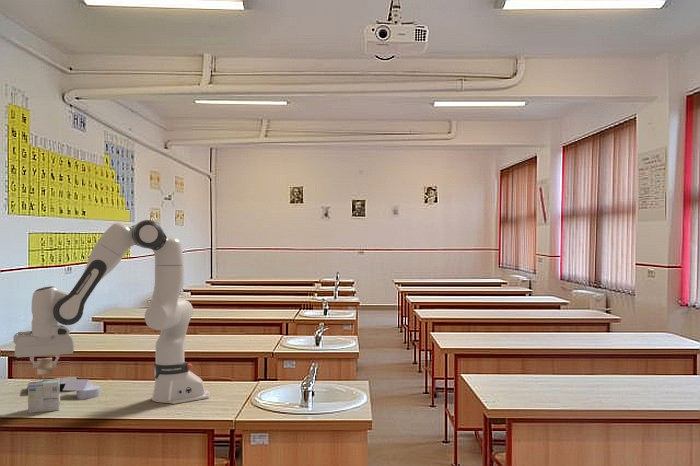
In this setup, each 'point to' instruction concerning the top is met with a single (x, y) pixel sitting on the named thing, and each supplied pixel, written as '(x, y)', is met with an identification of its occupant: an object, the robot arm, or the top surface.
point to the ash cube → (44, 366)
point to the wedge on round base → (83, 388)
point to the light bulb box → (43, 395)
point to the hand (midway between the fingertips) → (44, 367)
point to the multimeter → (62, 383)
